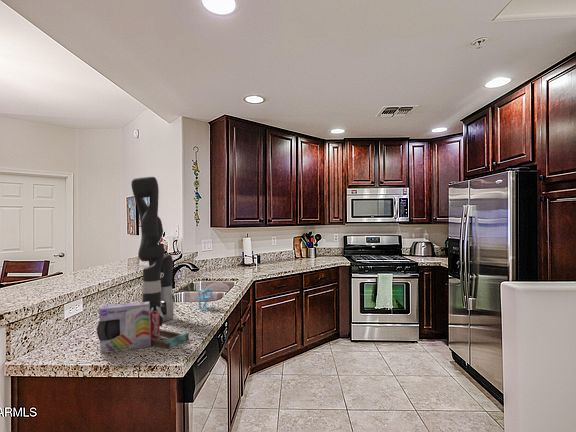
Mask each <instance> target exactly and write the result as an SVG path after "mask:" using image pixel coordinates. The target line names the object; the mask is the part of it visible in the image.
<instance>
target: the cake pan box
mask: <svg viewBox="0 0 576 432" xmlns="http://www.w3.org/2000/svg"><path fill="white" fill-rule="evenodd" d="M98 313H99V314H98V315H99V316H98V317H99V321H98V323H97V327H96V334H97V338H98V340H99V344H100V345H99V347H100V348H99V350H100V353H109V352H110V353H111V352H117V351H119V352H120V351H126V350H133V349H134V350H135V349H140V348H141V349H142V348H146V347H147V348H148V347H151V346H152V345H151V321H150V302H149V301H148V302H139V301H138V302H126V303H117V304H108V305H107V304H106V305H101V306H100V308H99V311H98Z"/></svg>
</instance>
